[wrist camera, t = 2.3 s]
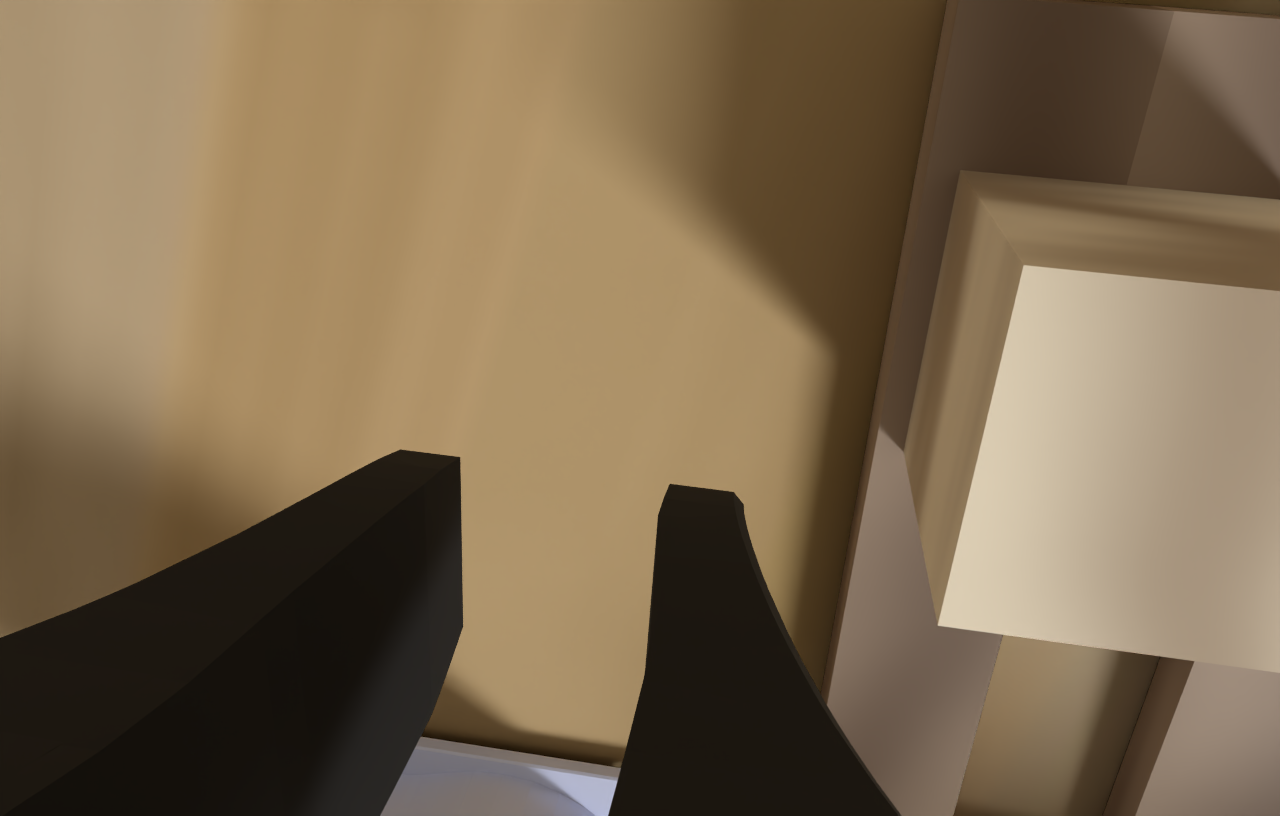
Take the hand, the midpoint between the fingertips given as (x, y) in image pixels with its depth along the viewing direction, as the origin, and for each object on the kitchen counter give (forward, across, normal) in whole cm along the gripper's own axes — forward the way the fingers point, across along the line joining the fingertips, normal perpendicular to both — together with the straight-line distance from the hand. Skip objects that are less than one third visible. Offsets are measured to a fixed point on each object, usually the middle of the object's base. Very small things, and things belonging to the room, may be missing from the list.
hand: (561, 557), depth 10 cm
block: (+8, -7, 0) cm, 11 cm away
